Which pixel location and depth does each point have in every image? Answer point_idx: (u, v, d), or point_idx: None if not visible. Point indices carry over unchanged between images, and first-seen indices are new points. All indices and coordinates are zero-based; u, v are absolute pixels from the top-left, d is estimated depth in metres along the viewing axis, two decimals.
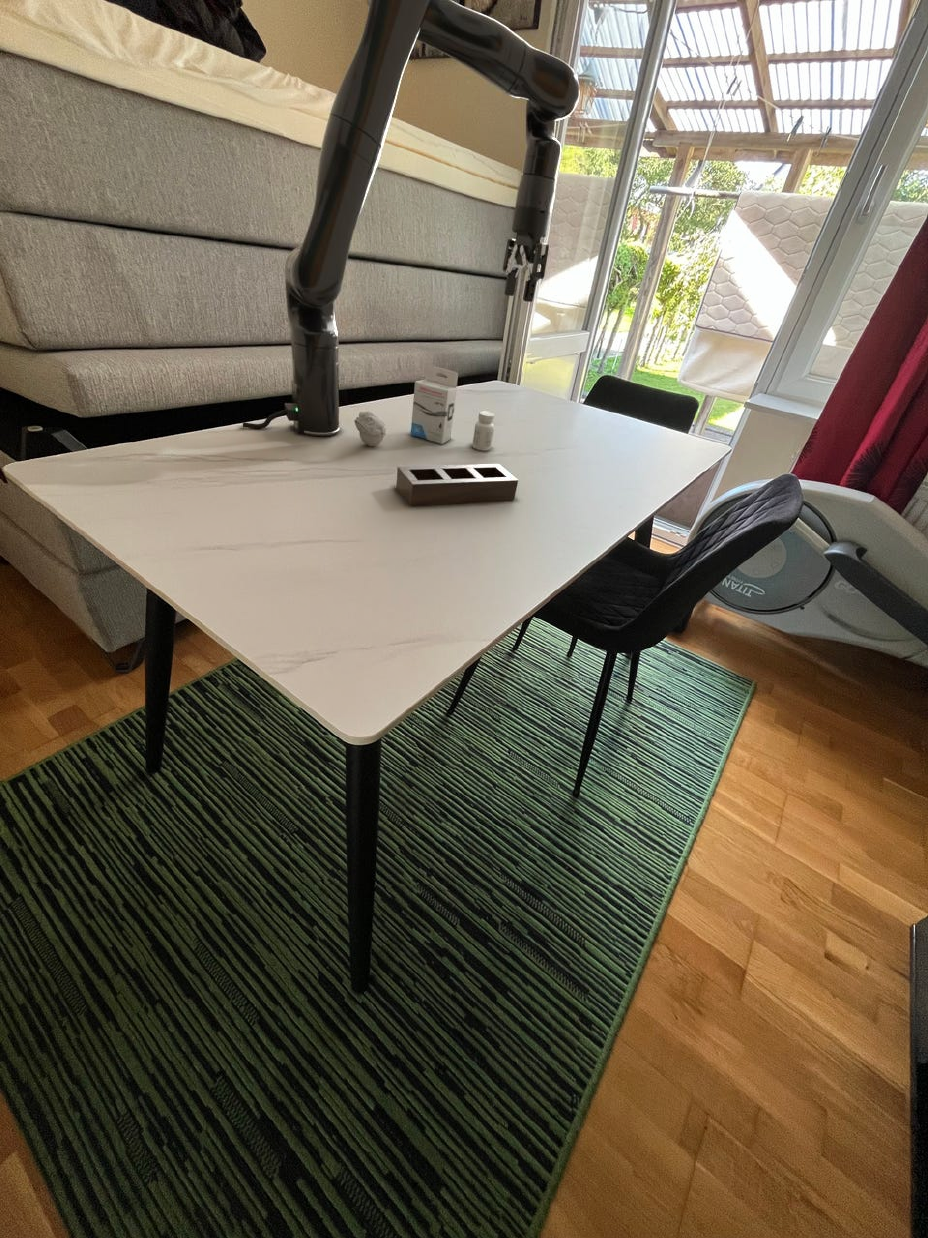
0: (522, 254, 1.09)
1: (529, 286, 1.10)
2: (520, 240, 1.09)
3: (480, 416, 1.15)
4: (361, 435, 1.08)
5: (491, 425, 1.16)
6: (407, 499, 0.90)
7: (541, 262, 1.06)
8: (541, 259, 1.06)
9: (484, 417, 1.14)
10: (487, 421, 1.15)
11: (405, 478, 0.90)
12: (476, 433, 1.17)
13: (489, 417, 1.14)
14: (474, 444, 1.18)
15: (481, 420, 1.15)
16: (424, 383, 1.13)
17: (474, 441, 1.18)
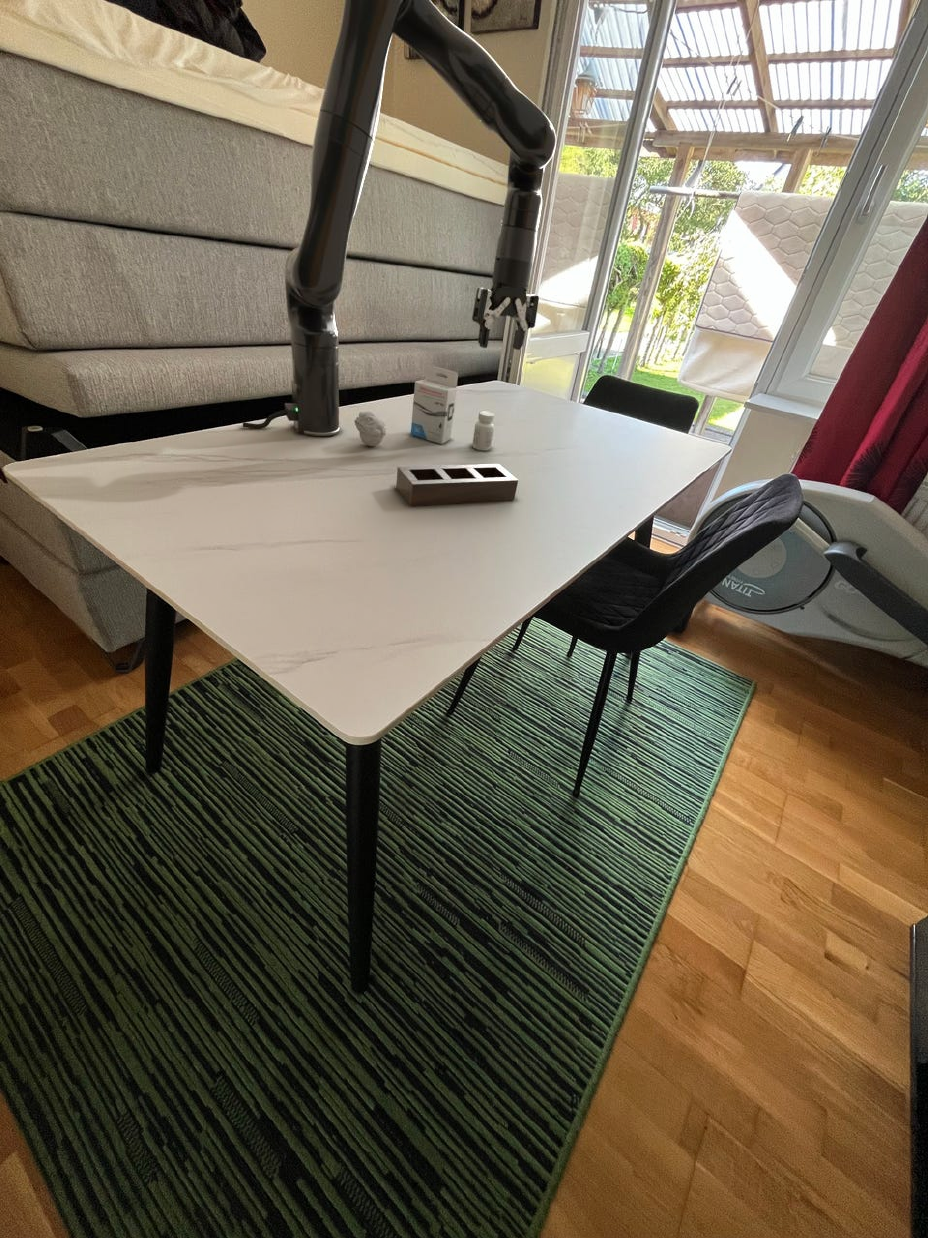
0: None
1: None
2: None
3: (480, 416, 1.15)
4: (361, 435, 1.08)
5: (491, 425, 1.16)
6: (407, 499, 0.90)
7: (476, 306, 1.03)
8: (477, 303, 1.03)
9: (484, 417, 1.14)
10: (487, 421, 1.15)
11: (405, 478, 0.90)
12: (476, 433, 1.17)
13: (489, 417, 1.14)
14: (474, 444, 1.18)
15: (481, 420, 1.15)
16: (424, 383, 1.13)
17: (474, 441, 1.18)
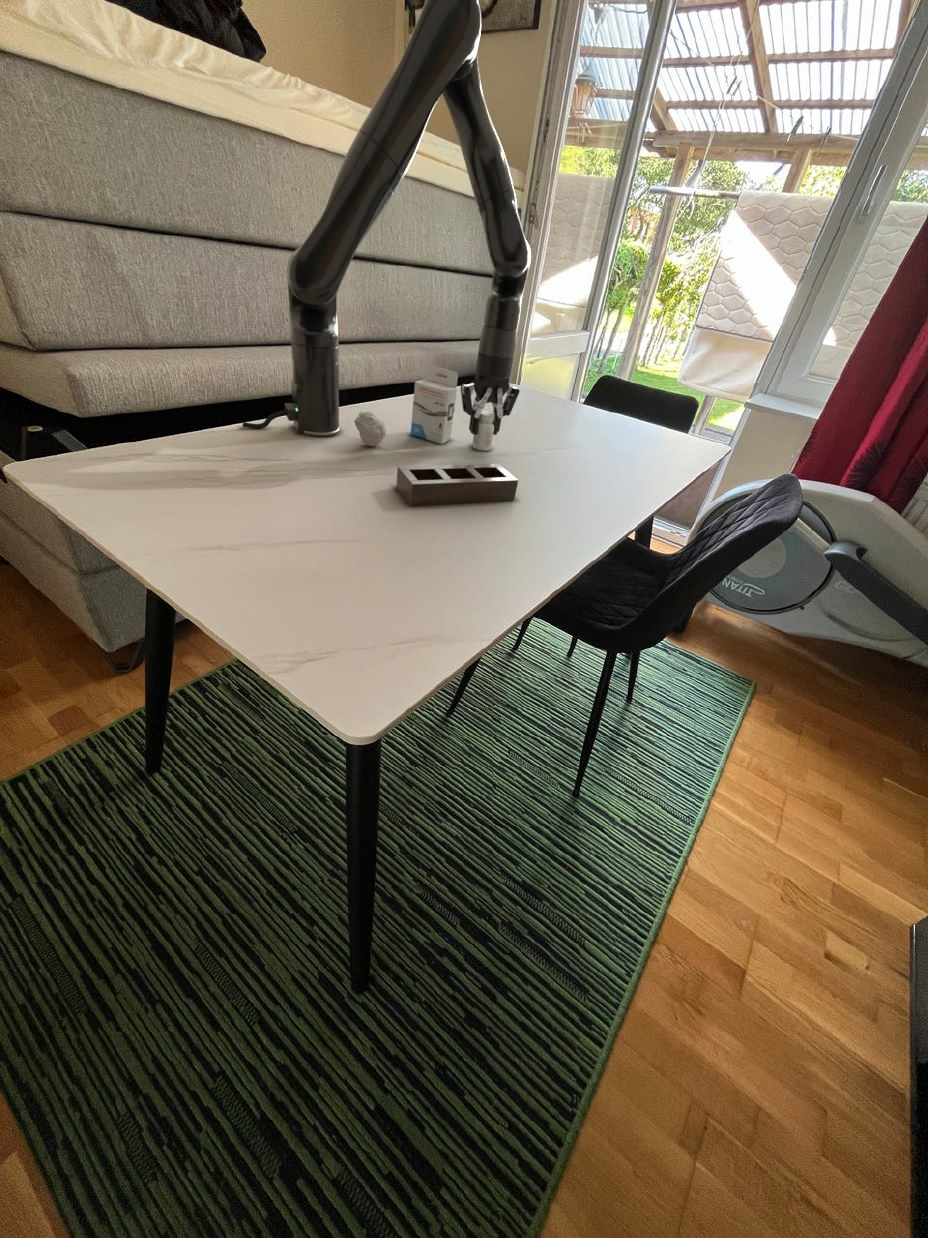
0: None
1: None
2: None
3: (480, 416, 1.15)
4: (361, 435, 1.08)
5: (491, 425, 1.16)
6: (407, 499, 0.90)
7: (464, 401, 1.12)
8: (463, 398, 1.11)
9: (484, 417, 1.14)
10: (487, 421, 1.15)
11: (405, 478, 0.90)
12: None
13: (489, 417, 1.14)
14: (474, 444, 1.18)
15: (481, 420, 1.15)
16: (424, 383, 1.13)
17: (474, 441, 1.18)
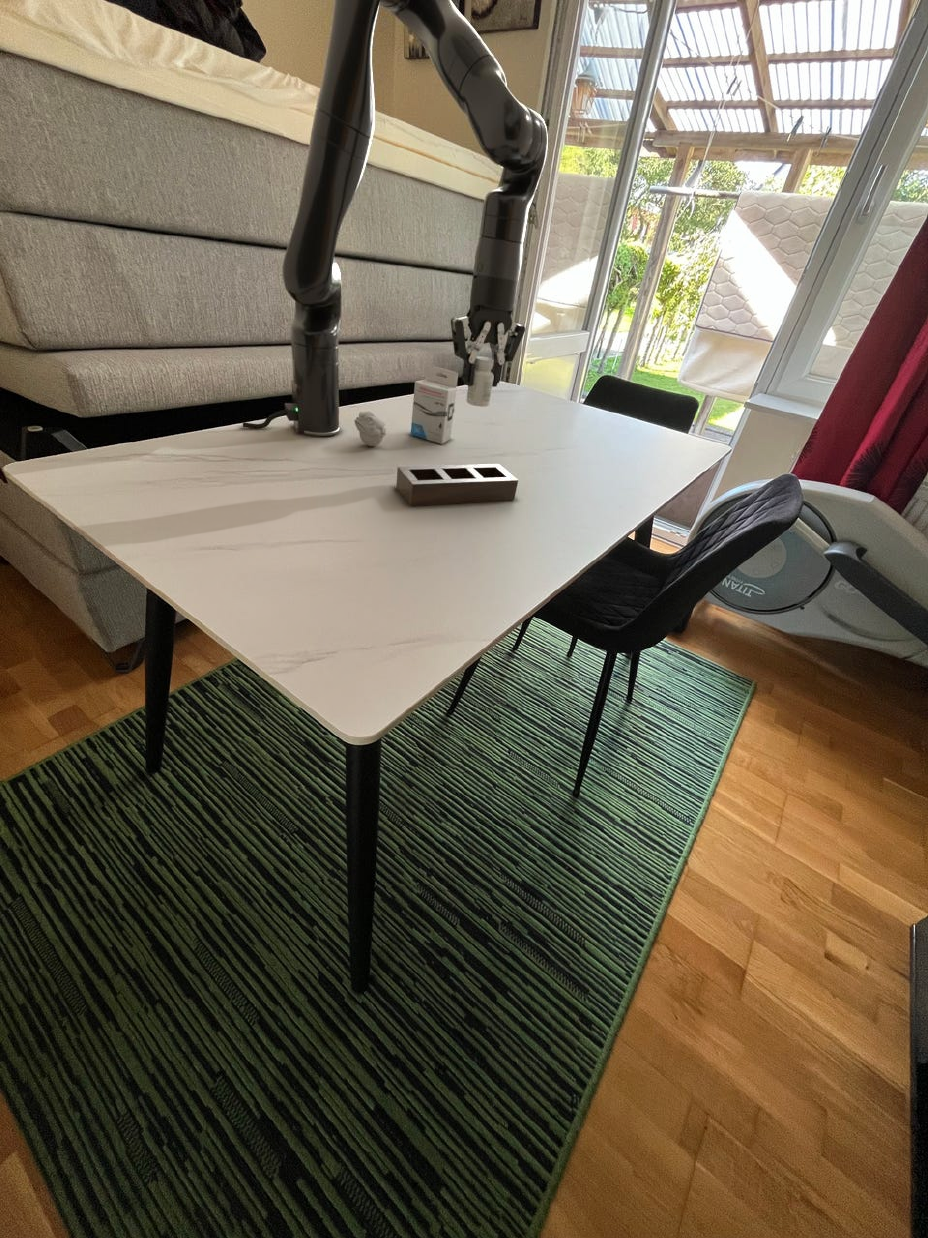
0: None
1: None
2: None
3: (476, 361, 0.91)
4: (361, 435, 1.08)
5: (490, 373, 0.92)
6: (407, 499, 0.90)
7: (455, 340, 0.88)
8: (454, 337, 0.87)
9: (481, 362, 0.91)
10: (485, 368, 0.91)
11: (405, 478, 0.90)
12: None
13: (487, 363, 0.91)
14: (469, 398, 0.94)
15: (477, 367, 0.91)
16: (424, 383, 1.13)
17: (469, 394, 0.94)
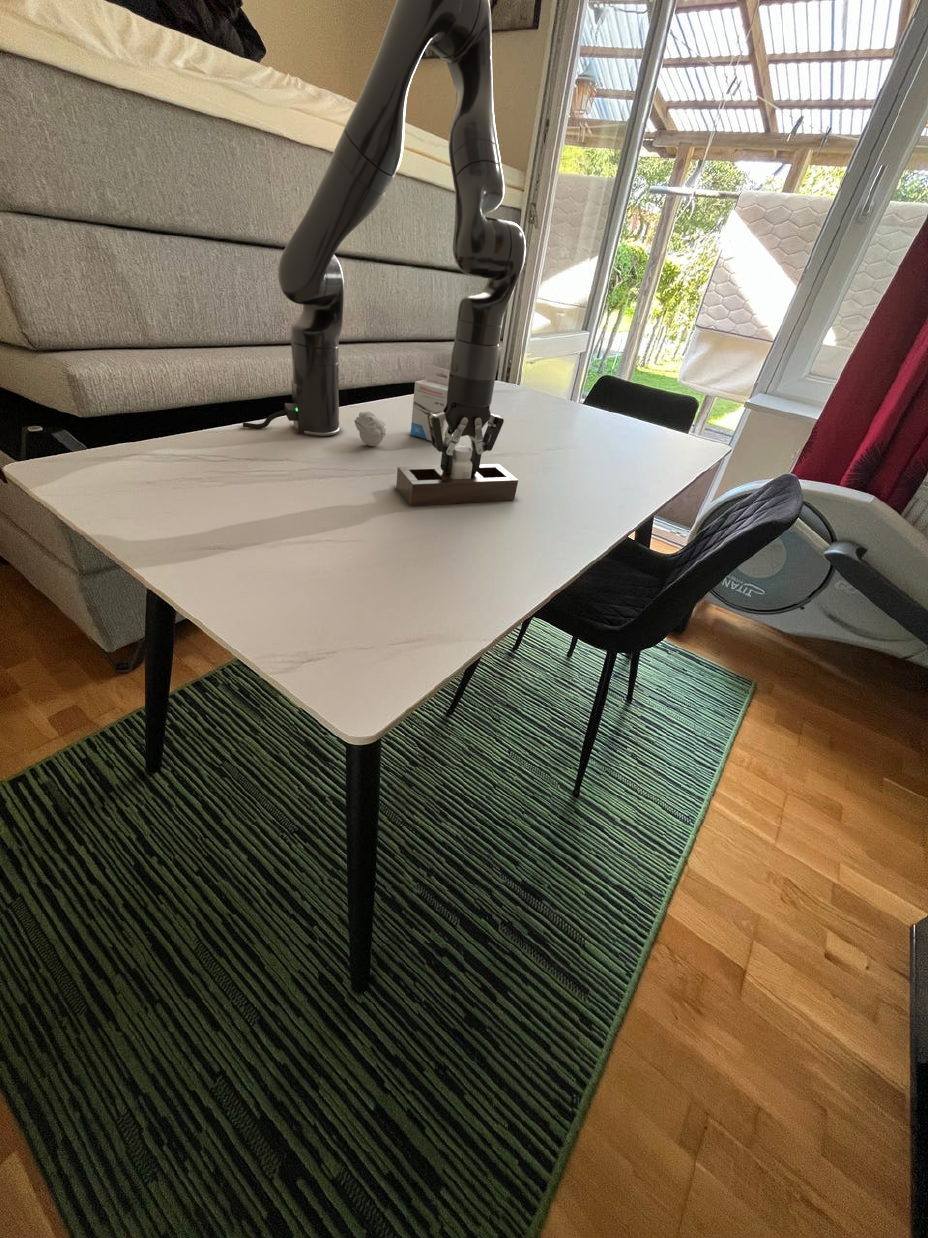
0: None
1: None
2: None
3: (454, 452, 0.91)
4: (361, 435, 1.08)
5: (468, 463, 0.92)
6: (407, 499, 0.90)
7: (432, 434, 0.87)
8: (431, 431, 0.87)
9: (459, 454, 0.90)
10: (463, 459, 0.91)
11: (405, 478, 0.90)
12: None
13: (465, 454, 0.90)
14: None
15: (455, 457, 0.91)
16: (424, 383, 1.13)
17: None
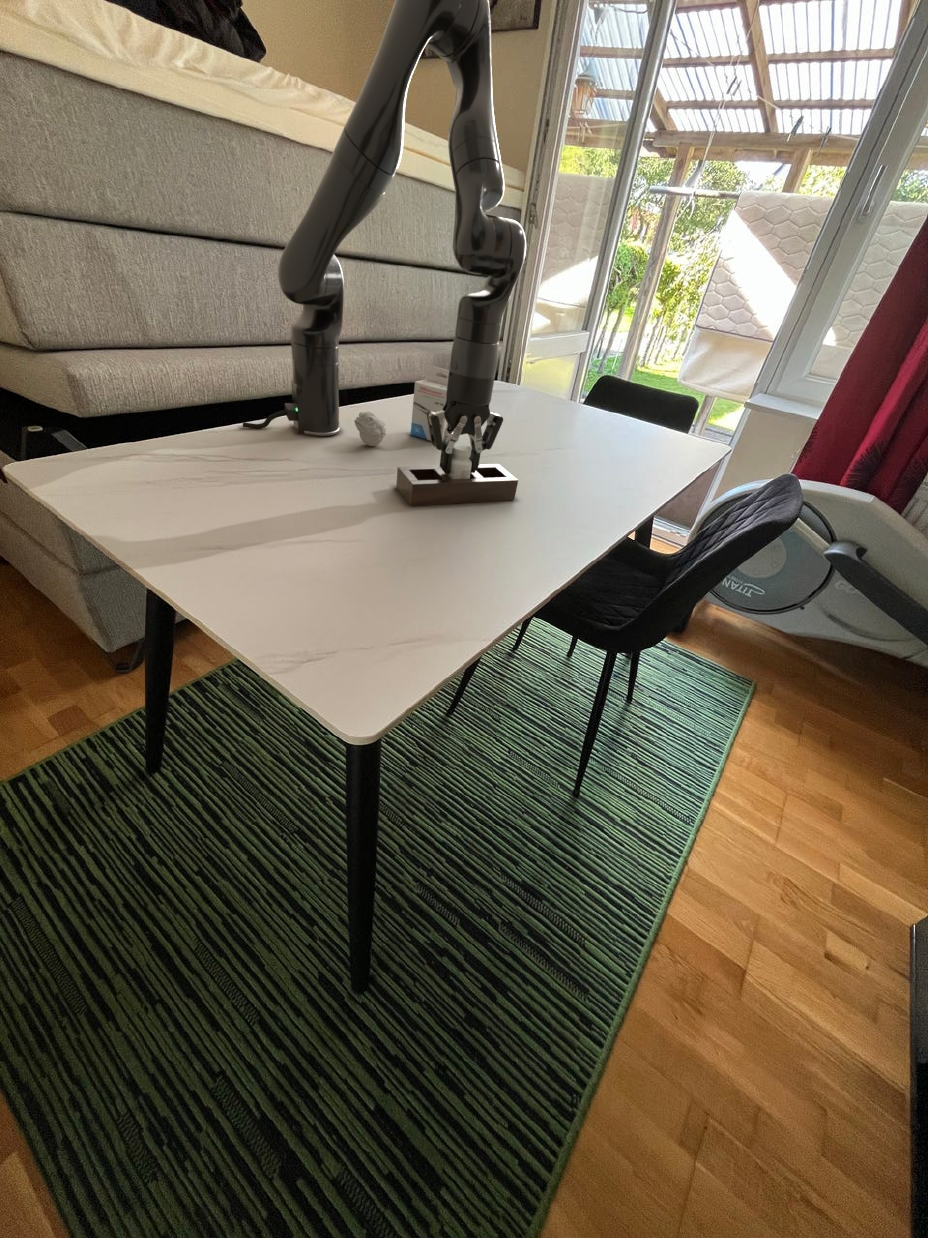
0: None
1: None
2: None
3: (453, 451, 0.90)
4: (361, 435, 1.08)
5: (467, 462, 0.92)
6: (407, 499, 0.90)
7: (431, 433, 0.87)
8: (431, 429, 0.87)
9: (458, 452, 0.90)
10: (462, 457, 0.91)
11: (405, 478, 0.90)
12: None
13: (464, 453, 0.90)
14: None
15: (455, 456, 0.91)
16: (424, 383, 1.13)
17: None
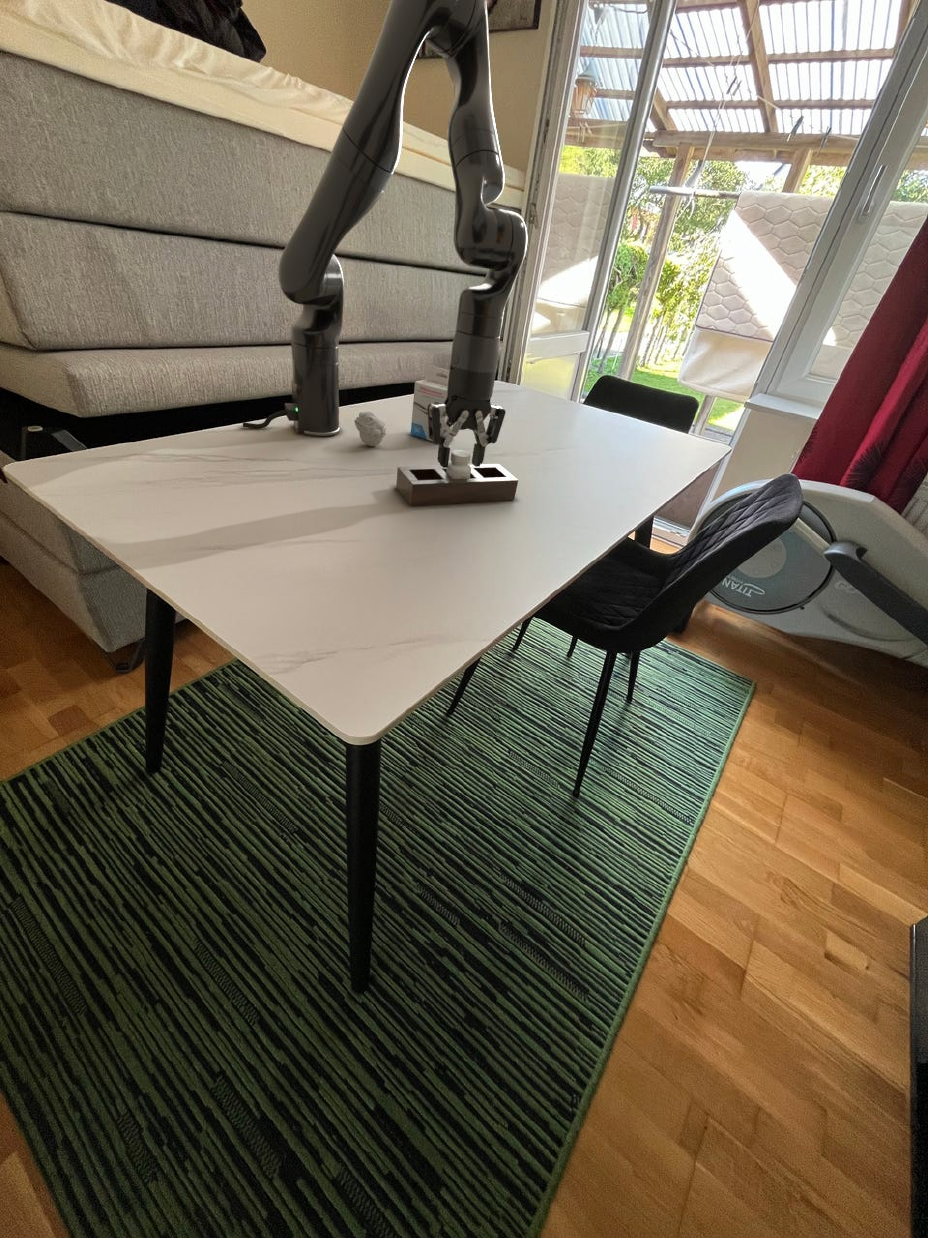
0: None
1: None
2: None
3: (452, 457, 0.91)
4: (361, 435, 1.08)
5: (467, 467, 0.92)
6: (407, 499, 0.90)
7: (430, 425, 0.86)
8: (430, 422, 0.86)
9: (457, 458, 0.91)
10: (461, 463, 0.91)
11: (405, 478, 0.90)
12: None
13: (463, 459, 0.91)
14: None
15: (454, 462, 0.91)
16: (424, 383, 1.13)
17: None
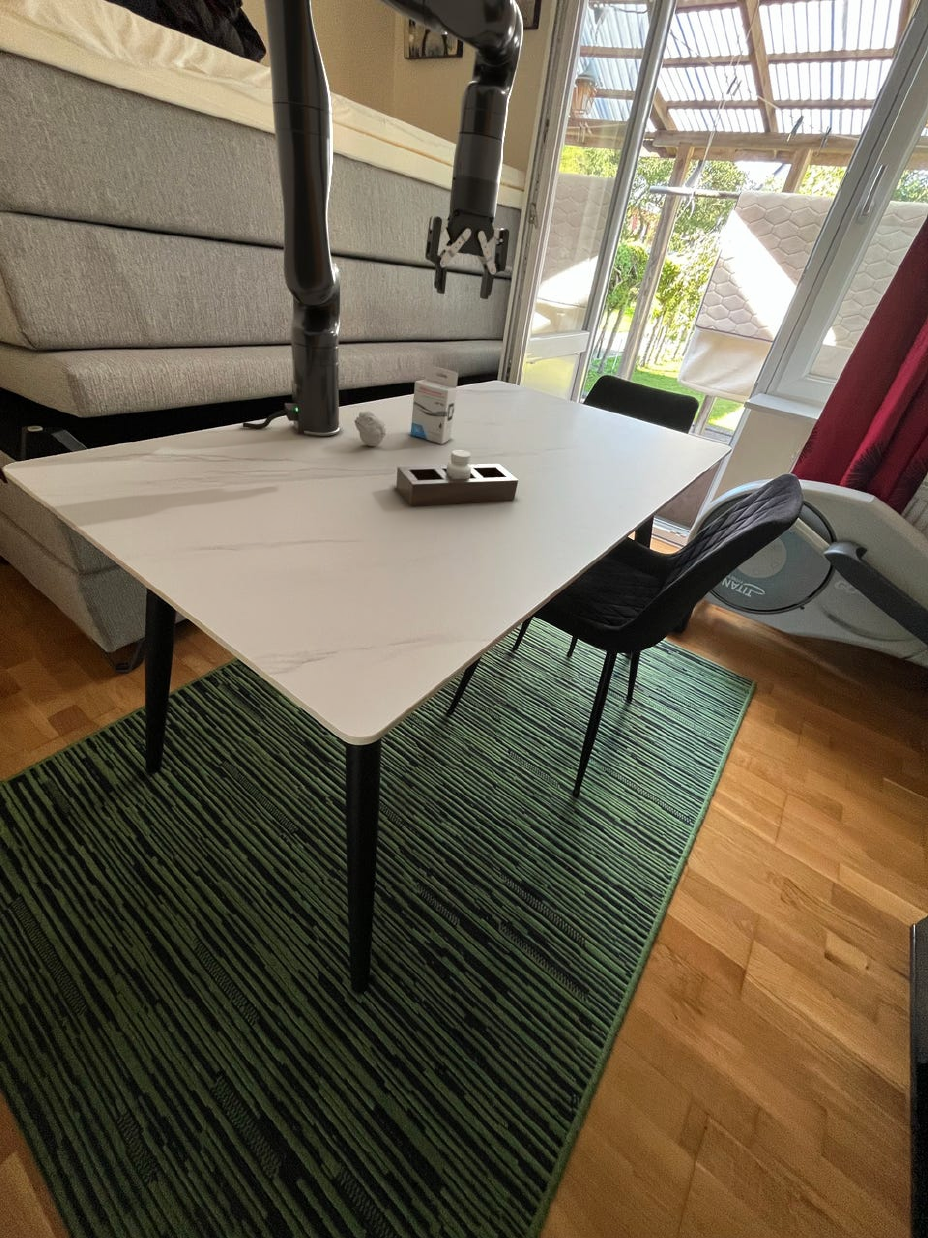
0: None
1: None
2: None
3: (452, 457, 0.91)
4: (361, 435, 1.08)
5: (467, 467, 0.92)
6: (407, 499, 0.90)
7: (429, 239, 0.84)
8: (429, 235, 0.84)
9: (457, 458, 0.91)
10: (461, 463, 0.91)
11: (405, 478, 0.90)
12: None
13: (463, 459, 0.91)
14: None
15: (454, 461, 0.91)
16: (424, 383, 1.13)
17: None
